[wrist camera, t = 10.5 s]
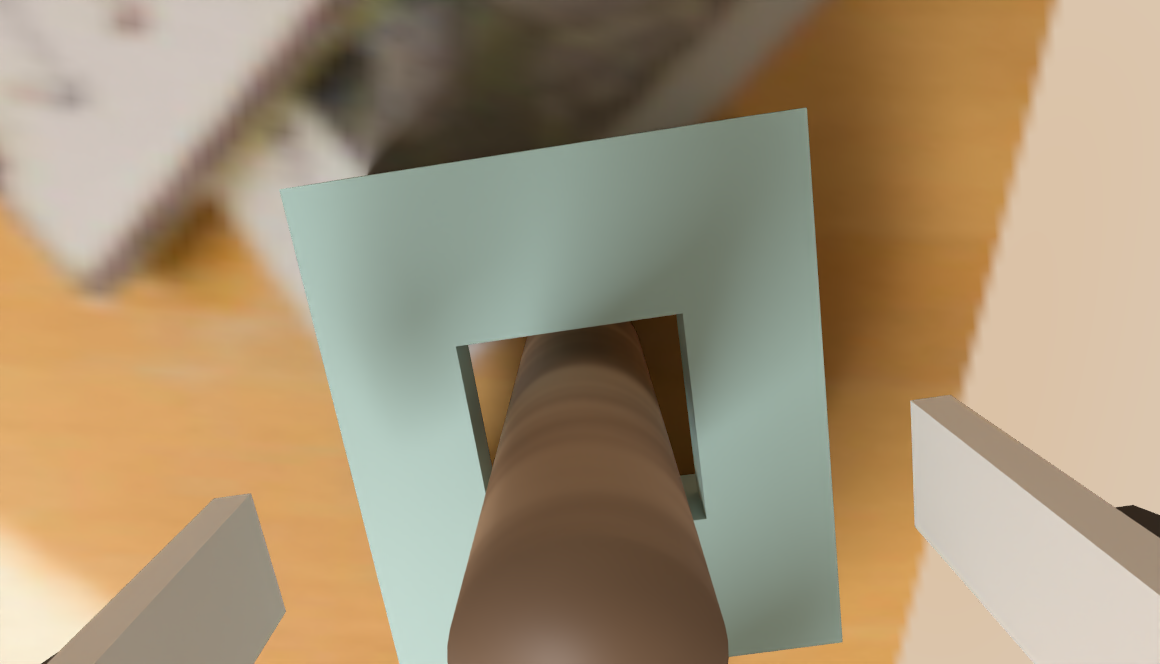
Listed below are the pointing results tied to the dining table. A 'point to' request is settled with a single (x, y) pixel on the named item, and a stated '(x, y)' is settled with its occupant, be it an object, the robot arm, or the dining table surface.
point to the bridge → (578, 300)
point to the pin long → (586, 522)
